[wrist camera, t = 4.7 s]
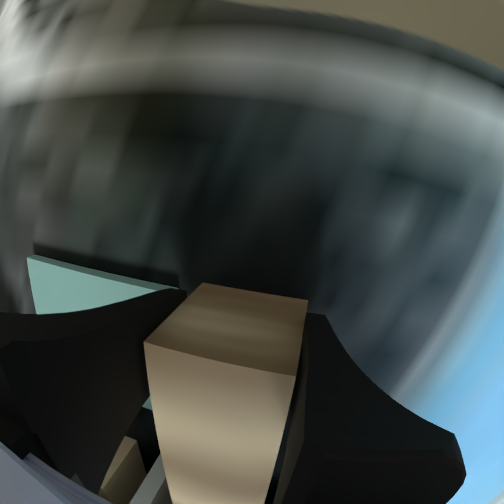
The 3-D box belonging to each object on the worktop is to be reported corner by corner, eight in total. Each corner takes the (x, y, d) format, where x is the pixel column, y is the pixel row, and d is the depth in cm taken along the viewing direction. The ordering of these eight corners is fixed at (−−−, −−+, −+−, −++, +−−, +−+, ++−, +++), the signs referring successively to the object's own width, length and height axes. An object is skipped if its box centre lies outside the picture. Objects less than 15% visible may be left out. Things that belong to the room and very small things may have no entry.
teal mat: (183, 411, 14) (178, 419, 14) (56, 360, 16) (50, 365, 15) (178, 287, 12) (171, 293, 12) (34, 254, 14) (26, 257, 13)
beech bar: (269, 478, 15) (252, 539, 11) (203, 463, 15) (177, 519, 11) (308, 299, 11) (296, 376, 7) (202, 282, 12) (143, 341, 8)
